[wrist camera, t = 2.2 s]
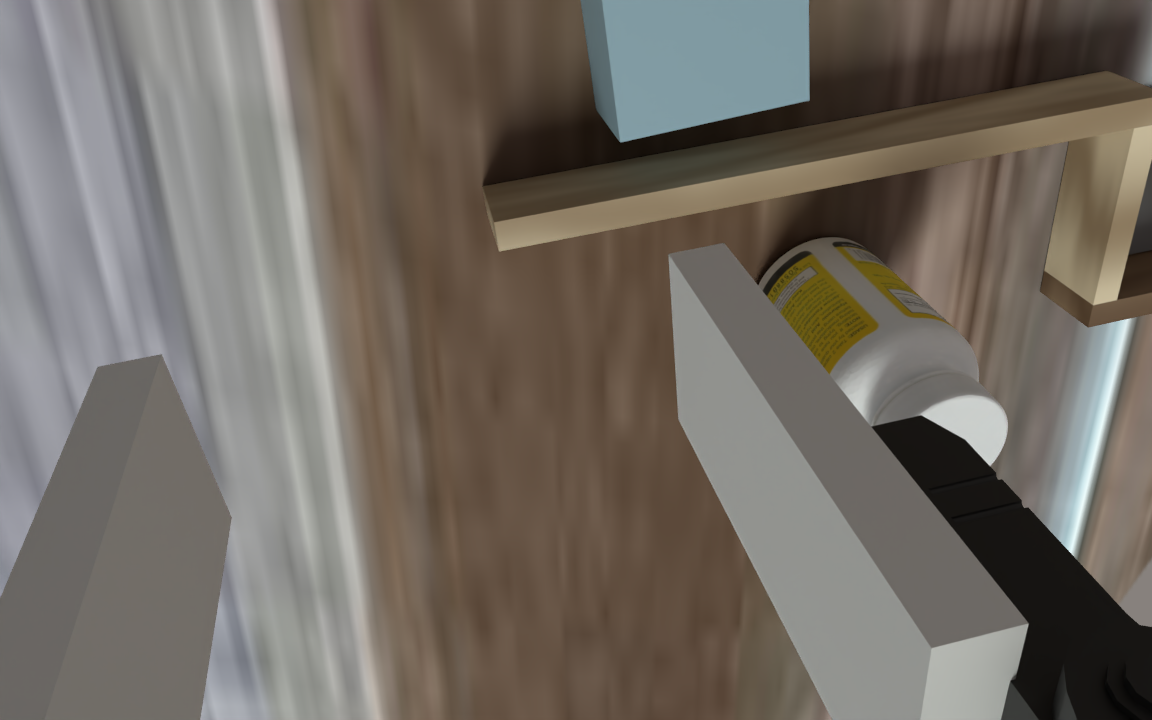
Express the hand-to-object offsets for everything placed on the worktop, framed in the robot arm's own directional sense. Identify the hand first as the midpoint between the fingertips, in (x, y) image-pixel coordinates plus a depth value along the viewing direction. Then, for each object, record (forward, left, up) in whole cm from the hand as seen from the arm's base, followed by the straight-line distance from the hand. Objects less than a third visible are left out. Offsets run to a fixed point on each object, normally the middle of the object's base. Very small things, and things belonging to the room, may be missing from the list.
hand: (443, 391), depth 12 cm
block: (0, +9, -19) cm, 21 cm away
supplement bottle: (+12, +14, -19) cm, 27 cm away
